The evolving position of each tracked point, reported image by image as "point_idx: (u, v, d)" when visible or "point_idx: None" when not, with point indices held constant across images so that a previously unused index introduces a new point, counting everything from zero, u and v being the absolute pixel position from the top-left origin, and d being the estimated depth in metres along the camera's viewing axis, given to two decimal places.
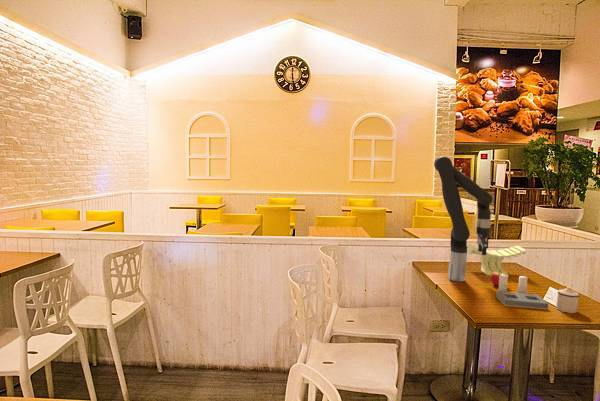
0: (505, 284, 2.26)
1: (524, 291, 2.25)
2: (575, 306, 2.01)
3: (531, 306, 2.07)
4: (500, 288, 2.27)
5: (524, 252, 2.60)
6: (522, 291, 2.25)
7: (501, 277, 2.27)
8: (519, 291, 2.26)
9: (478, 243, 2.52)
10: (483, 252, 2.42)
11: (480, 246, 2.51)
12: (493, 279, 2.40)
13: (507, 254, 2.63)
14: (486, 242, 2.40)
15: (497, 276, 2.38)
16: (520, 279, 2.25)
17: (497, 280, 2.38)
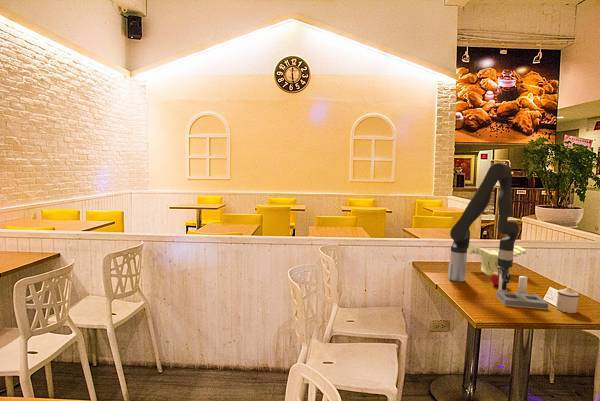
0: None
1: (524, 291, 2.25)
2: (575, 306, 2.01)
3: (531, 306, 2.07)
4: (500, 288, 2.27)
5: (524, 252, 2.60)
6: (522, 291, 2.25)
7: None
8: (519, 291, 2.26)
9: None
10: (503, 287, 2.25)
11: None
12: (493, 279, 2.40)
13: None
14: (507, 278, 2.22)
15: (497, 276, 2.38)
16: (520, 279, 2.25)
17: (497, 280, 2.38)
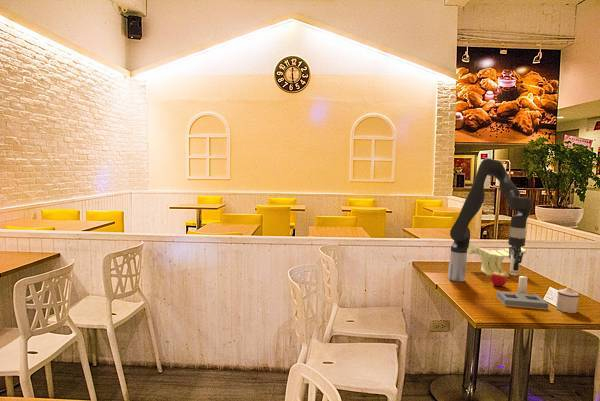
0: None
1: (524, 291, 2.25)
2: (575, 306, 2.01)
3: (531, 306, 2.07)
4: (512, 269, 2.12)
5: (524, 252, 2.60)
6: (522, 291, 2.25)
7: None
8: (519, 291, 2.26)
9: (510, 258, 2.15)
10: (515, 267, 2.10)
11: None
12: (493, 279, 2.40)
13: (507, 254, 2.63)
14: (520, 257, 2.06)
15: (497, 276, 2.38)
16: (520, 279, 2.25)
17: (497, 280, 2.38)
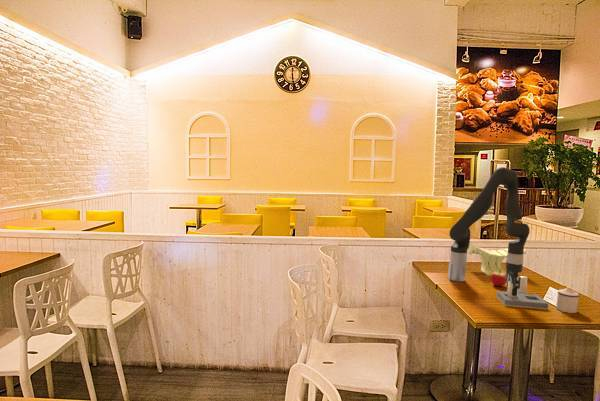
0: None
1: (524, 291, 2.25)
2: (575, 306, 2.01)
3: (531, 306, 2.07)
4: (509, 295, 2.14)
5: (524, 252, 2.60)
6: (522, 291, 2.25)
7: (510, 284, 2.13)
8: (519, 291, 2.26)
9: (507, 281, 2.18)
10: (513, 292, 2.09)
11: None
12: (493, 279, 2.40)
13: None
14: (518, 281, 2.07)
15: (497, 276, 2.38)
16: None
17: (497, 280, 2.38)
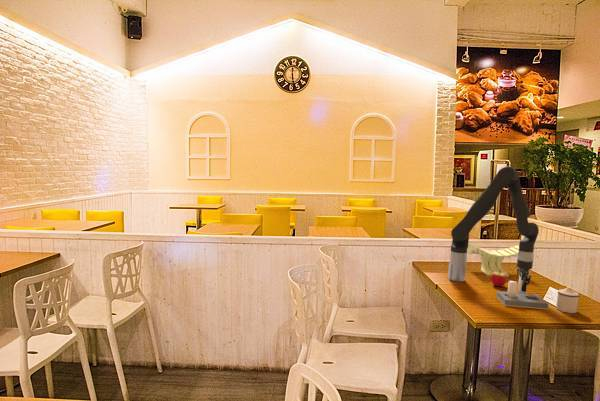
0: (514, 291, 2.12)
1: None
2: (575, 306, 2.01)
3: (531, 306, 2.07)
4: (509, 295, 2.14)
5: None
6: None
7: (510, 284, 2.13)
8: (519, 291, 2.26)
9: None
10: (523, 288, 2.23)
11: None
12: (493, 279, 2.40)
13: (507, 254, 2.63)
14: (528, 279, 2.20)
15: (497, 276, 2.38)
16: (520, 279, 2.25)
17: (497, 280, 2.38)
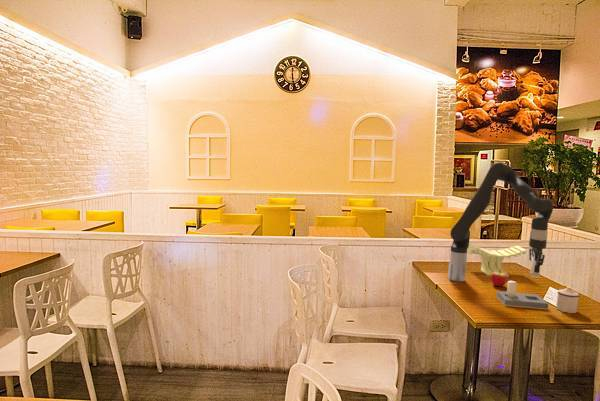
0: (514, 291, 2.12)
1: None
2: (575, 306, 2.01)
3: (531, 306, 2.07)
4: (509, 295, 2.13)
5: (524, 252, 2.60)
6: None
7: (509, 284, 2.13)
8: (532, 272, 2.11)
9: (531, 260, 2.13)
10: (536, 269, 2.08)
11: None
12: (493, 279, 2.40)
13: (507, 254, 2.63)
14: (541, 259, 2.05)
15: (497, 276, 2.38)
16: (533, 259, 2.10)
17: (497, 280, 2.38)
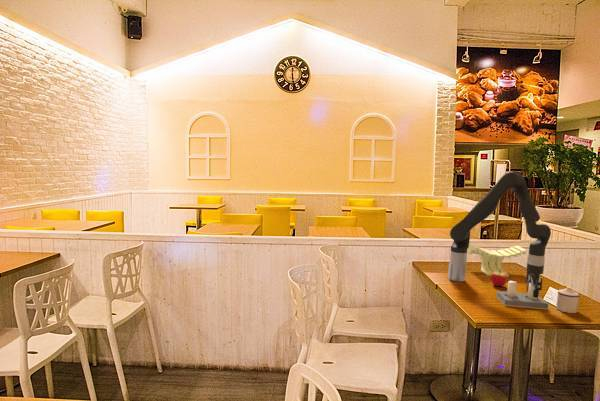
0: (514, 291, 2.12)
1: (534, 299, 2.11)
2: (575, 306, 2.01)
3: (531, 306, 2.07)
4: (509, 296, 2.13)
5: (524, 252, 2.60)
6: (532, 299, 2.11)
7: (510, 284, 2.12)
8: None
9: (527, 282, 2.17)
10: (535, 294, 2.08)
11: None
12: (493, 279, 2.40)
13: (507, 254, 2.63)
14: (539, 283, 2.05)
15: (497, 276, 2.38)
16: (530, 286, 2.12)
17: (497, 280, 2.38)
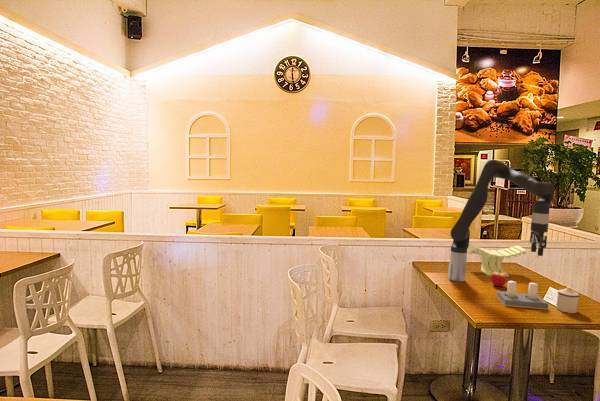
0: (515, 291, 2.12)
1: (534, 299, 2.11)
2: (575, 306, 2.01)
3: (531, 306, 2.07)
4: (510, 296, 2.13)
5: (524, 252, 2.60)
6: (532, 299, 2.11)
7: (510, 284, 2.12)
8: None
9: (531, 242, 2.14)
10: (539, 252, 2.05)
11: (534, 245, 2.14)
12: (493, 279, 2.40)
13: (507, 254, 2.63)
14: (544, 241, 2.03)
15: (497, 276, 2.38)
16: (530, 286, 2.12)
17: (497, 280, 2.38)
